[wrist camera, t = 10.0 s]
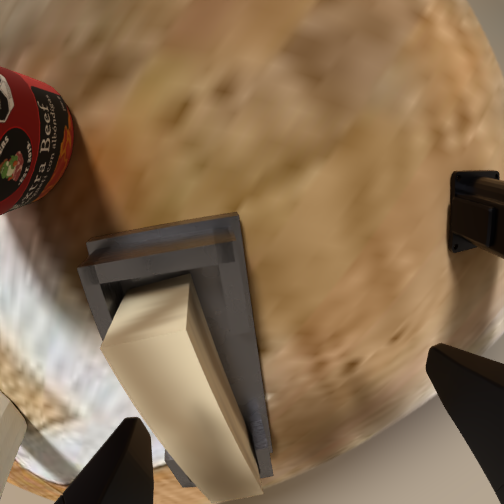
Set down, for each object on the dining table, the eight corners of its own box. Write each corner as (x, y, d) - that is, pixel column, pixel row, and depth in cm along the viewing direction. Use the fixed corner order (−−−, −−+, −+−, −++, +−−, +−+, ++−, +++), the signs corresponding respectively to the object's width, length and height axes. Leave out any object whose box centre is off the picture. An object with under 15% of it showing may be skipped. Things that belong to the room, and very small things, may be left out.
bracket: (236, 212, 18) (246, 228, 14) (270, 444, 25) (279, 477, 21) (91, 238, 17) (65, 260, 13) (178, 457, 24) (179, 489, 20)
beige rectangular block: (190, 273, 17) (185, 329, 12) (251, 437, 23) (263, 493, 17) (127, 289, 17) (100, 347, 12) (206, 446, 23) (211, 502, 17)
